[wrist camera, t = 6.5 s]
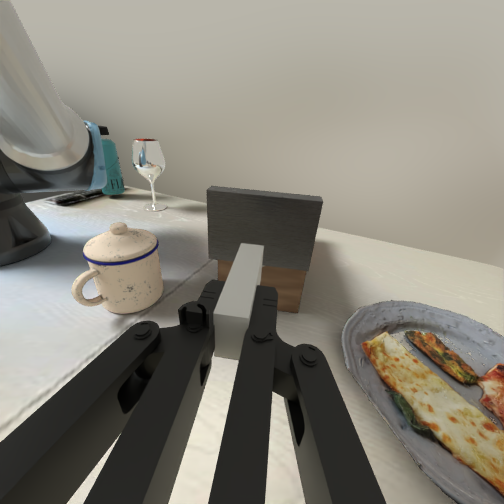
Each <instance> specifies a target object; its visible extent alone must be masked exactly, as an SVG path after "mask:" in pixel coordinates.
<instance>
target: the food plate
mask: <svg viewBox="0 0 504 504" xmlns="http://www.w3.org/2000/svg"><path fill="white" fill-rule="evenodd" d="M406 330H418V331H409V332H408V331H406ZM401 331H404V333H405V335H404V338H405V339H406V341H407V342H408V343H409V344H410V345H409V346H412V348H413V349H412V350H411V351H410V352H409V351H407V350H406V348H405V347H404V346H402V345H401V344H400V343H402V342H400V343H399V342H398V341H397V340H396V339H395V338H393V336H392V337H391V336H390V334H393V333H399V332H401ZM419 331H423V332H427V333H422V334H421V332H419ZM432 333H434V334H432ZM435 334H437V336H438V335H439V336H438V338H437V336H436V335H435ZM395 336H396V335H395ZM440 337H441V338H443V340H442V339H441V340H442V341H443V342H444V343H445V344H446V346H445V345H444V344H443V343H442V342H441V340H440V339H439V338H440ZM445 337H446V338H448V339H449V340H450V341H451V342H452V343H453V344H454V345H453V344H452V343H451V342H450V341H448V340H447V339H445ZM341 340H342V350H343V354H344V358H345V365H346V366H347V367H346V368H348V370H349V371H350V373H351V374H352V376H353V378H354V379H355V380H356V382H357V383H358V384H359V385H360V386H361V388H362V390H363V391H364V393H365V394H366V395H367V396H368V398H369V401H371V402H372V404H373V406H374V407H375V408H376V410H377V411H378V412H379V413H380V415H381V416H382V418H383V419H384V420H385V421H386V422H387V423H388V425H389V426H390V428H391V429H392V431H393V432H394V434H395V435H396V436H397V437H398V439H399V440H400V441H401V442H402V444H403V445H404V447H405V448H406V450H407V452H409V453H410V455H411V456H412V458H413V459H415V460H414V461H415V463H416V464H417V463H419V464H420V466H419V465H418V464H417V465H418V466H419V468H420V469H421V470H423V472H424V473H425V474H427V476H429V477H430V479H432V481H433V482H434V483H435V484H436V485H437V486H438V487H440V489H441V490H442V492H443V493H445V494H446V495H448V496H449V497H450V498H452V499H453V500H454V501H455V502H456V503H457V504H504V337H503V336H502V335H500V334H498V333H497V332H494V331H493V330H492V329H491V328H489V327H488V326H486V325H484V324H482V323H479V322H477V321H475V320H473V319H470V318H468V317H467V316H463V315H461V314H457V313H454V312H451V311H449V310H443V309H439V308H436V307H432V306H428V305H426V304H421V303H415V302H411V301H410V302H409V301H408V302H407V301H392V300H391V301H388V300H387V301H386V302H379V303H376V304H373V305H369V306H364V307H361V308H359V309H357V310H356V311H355V313H354V314H353V315H352V317H350V318H349V319H348V320H347V322H346V324H345V325H344V329H343V332H342V339H341ZM402 341H403V340H402ZM445 341H447V342H449V344H448V343H447V342H445ZM455 348H457V349H455ZM414 349H415V350H416V351H415V350H414ZM452 349H453V350H452ZM470 350H471V351H470ZM468 352H470V353H471V355H472V356H470V355H469V354H466V353H468ZM480 354H481V355H480ZM415 356H416V357H415ZM471 358H473V359H474V361H473V360H472V359H471ZM421 361H422V362H421ZM483 364H485V366H484V365H483ZM490 417H492V418H493V419H494V420H496V422H497V424H495V423H493V422H492V421H491V420H490Z"/></svg>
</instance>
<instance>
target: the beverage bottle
mask: <svg viewBox="0 0 504 504" xmlns="http://www.w3.org/2000/svg"><path fill="white" fill-rule="evenodd" d="M98 128H99V131H100V135H109V132H108V129H107V127H104V126H98ZM101 141H102V147H103V153H104V160H105V168H106V175H107V184H106V186H105V187H103V188H101V189H102V191H103V193H104V194H110V195H113V194H121V193H123V192H124V190H125V189H124V188H125V187H124V185H123V179H122V175H121V170H120V166H119V161H118V159H119V158H118V156H117V151H116V147H115V143H114V142H113V141H111V140H109V139H101Z"/></svg>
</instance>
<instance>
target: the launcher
mask: <svg viewBox="0 0 504 504" xmlns="http://www.w3.org/2000/svg"><path fill="white" fill-rule="evenodd" d="M232 265H233V262H232V261H224V260H218V280H219V281H226V280H227V277H228V275H229V272H230V270H231V267H232ZM305 275H306V271H303V270H295V269H287V268H279V267H271V266H264V267H262V272H261V281H260V285H262V286H269V287H275V288H276V290H277V292H278V305H277V310H279V311H286V312H293V313H298V308H299V304H300V299H301V294H302V289H303V285H304V280H305Z"/></svg>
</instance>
